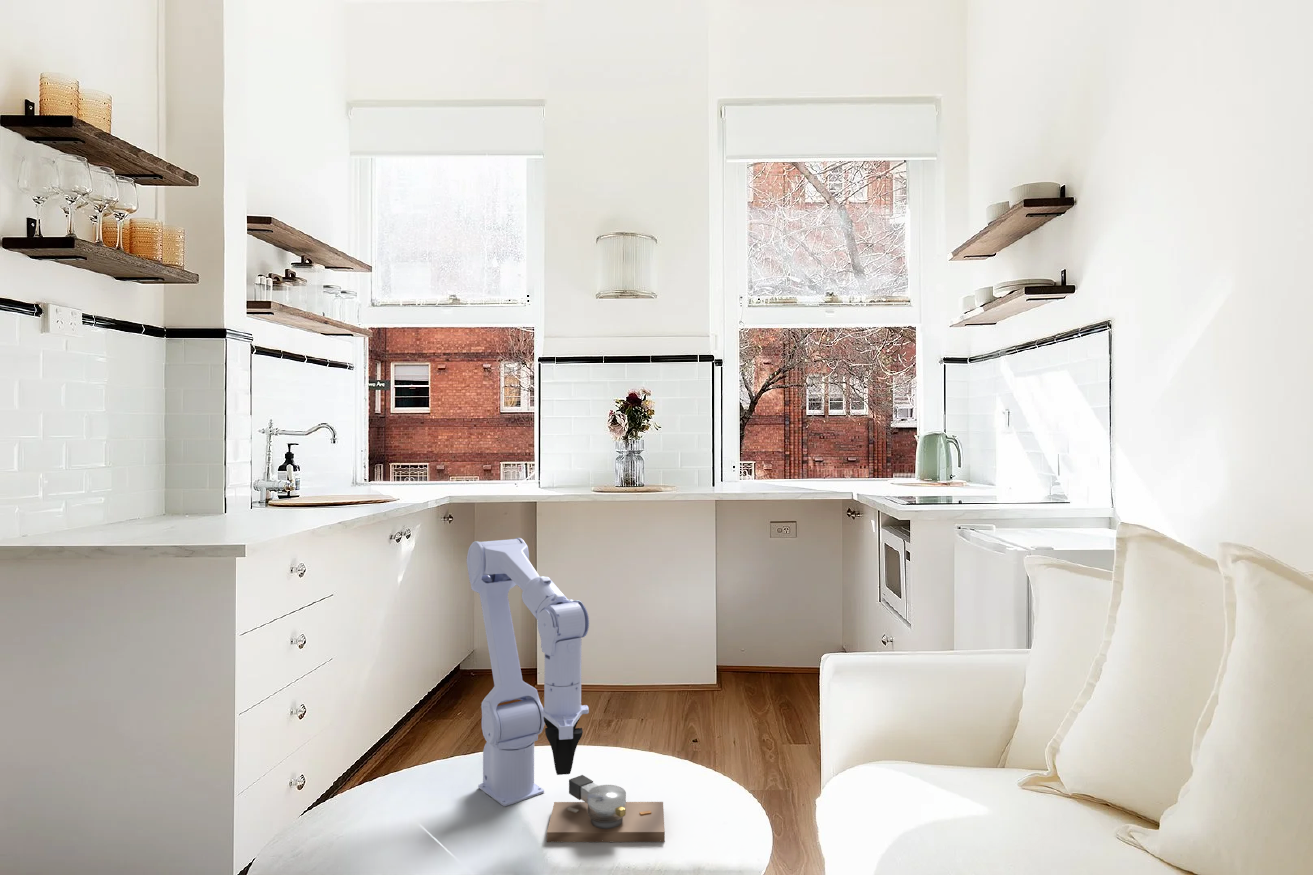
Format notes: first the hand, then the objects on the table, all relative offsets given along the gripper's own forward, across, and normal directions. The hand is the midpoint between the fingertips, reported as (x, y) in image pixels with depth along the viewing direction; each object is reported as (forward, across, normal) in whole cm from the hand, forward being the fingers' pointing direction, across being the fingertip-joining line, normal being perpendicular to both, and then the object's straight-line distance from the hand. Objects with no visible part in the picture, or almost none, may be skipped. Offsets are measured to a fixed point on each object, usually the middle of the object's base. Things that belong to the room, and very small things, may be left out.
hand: (562, 767), depth 119 cm
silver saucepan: (+8, +2, -6) cm, 10 cm away
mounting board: (+10, +1, -7) cm, 13 cm away
